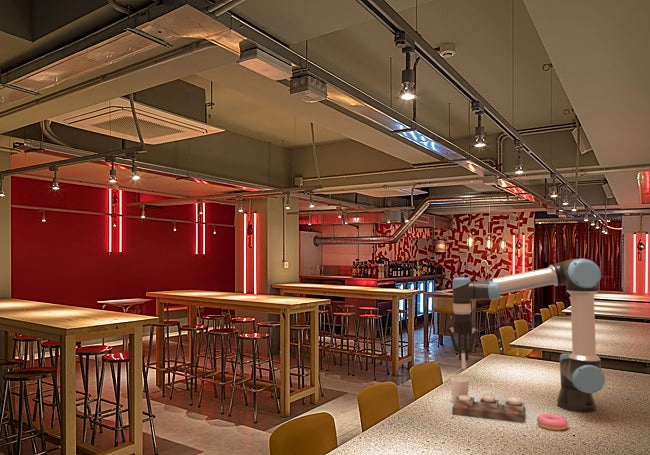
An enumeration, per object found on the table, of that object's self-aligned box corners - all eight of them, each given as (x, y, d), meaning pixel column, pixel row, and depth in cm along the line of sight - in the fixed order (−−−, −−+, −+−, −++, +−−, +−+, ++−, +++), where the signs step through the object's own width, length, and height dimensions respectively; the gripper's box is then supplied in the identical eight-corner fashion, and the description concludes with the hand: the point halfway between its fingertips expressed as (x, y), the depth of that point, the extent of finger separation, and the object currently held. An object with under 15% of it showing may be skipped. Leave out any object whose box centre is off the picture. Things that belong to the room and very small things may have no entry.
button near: (521, 402, 202) (520, 397, 202) (520, 405, 197) (520, 400, 197) (508, 400, 204) (508, 396, 204) (507, 404, 199) (507, 399, 199)
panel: (525, 414, 202) (525, 402, 203) (524, 423, 192) (524, 410, 192) (457, 406, 214) (456, 394, 214) (452, 414, 203) (452, 402, 203)
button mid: (495, 399, 206) (495, 394, 206) (494, 402, 201) (494, 397, 201) (483, 398, 208) (483, 393, 208) (482, 401, 203) (481, 396, 203)
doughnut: (566, 434, 180) (566, 422, 180) (534, 428, 186) (534, 417, 186) (569, 425, 189) (569, 414, 190) (539, 420, 195) (538, 410, 195)
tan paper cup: (469, 404, 217) (469, 381, 217) (451, 403, 218) (450, 381, 219) (468, 399, 224) (467, 377, 225) (450, 398, 226) (450, 377, 226)
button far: (471, 400, 210) (471, 395, 210) (469, 403, 205) (469, 398, 205) (459, 399, 212) (459, 394, 212) (457, 402, 207) (457, 397, 207)
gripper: (478, 312, 212) (480, 367, 210) (448, 311, 217) (450, 365, 215) (476, 314, 205) (478, 371, 203) (445, 313, 210) (447, 368, 209)
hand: (464, 368), depth 209 cm, fingers closed
